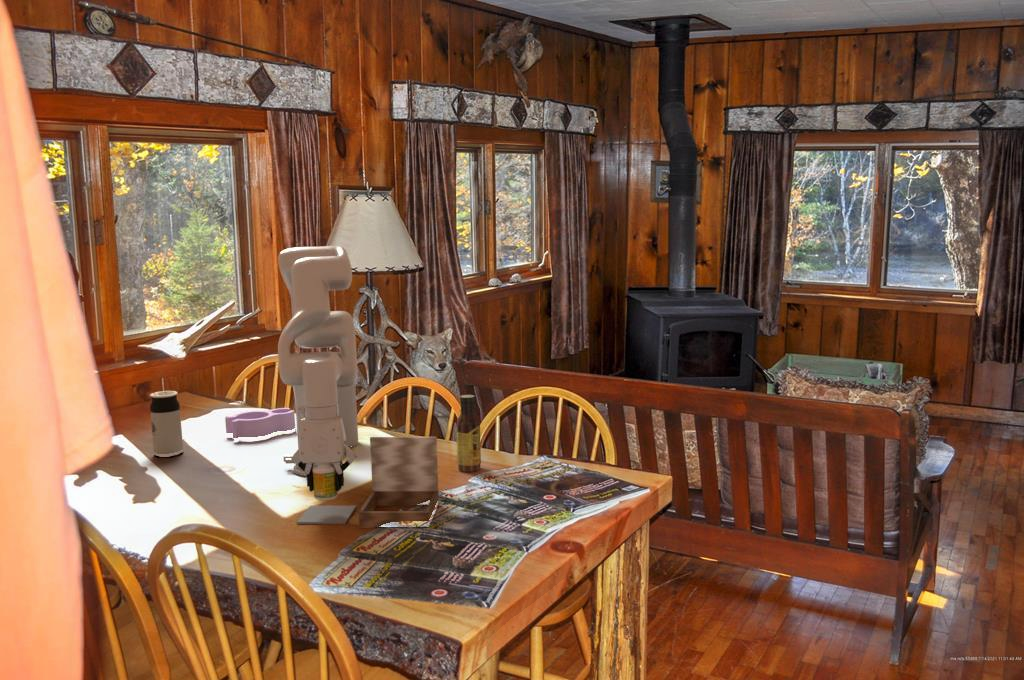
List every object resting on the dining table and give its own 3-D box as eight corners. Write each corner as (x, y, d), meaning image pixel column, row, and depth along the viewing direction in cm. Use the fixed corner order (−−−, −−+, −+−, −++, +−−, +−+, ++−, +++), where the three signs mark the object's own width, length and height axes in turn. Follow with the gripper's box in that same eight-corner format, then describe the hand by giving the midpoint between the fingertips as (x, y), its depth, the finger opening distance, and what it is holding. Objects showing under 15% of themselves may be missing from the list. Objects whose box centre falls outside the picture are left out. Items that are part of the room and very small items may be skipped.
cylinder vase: (365, 445, 276) (361, 362, 272) (325, 453, 269) (320, 367, 265) (347, 437, 286) (343, 356, 282) (308, 444, 279) (303, 361, 275)
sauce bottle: (478, 473, 246) (475, 399, 243) (454, 472, 248) (452, 398, 244) (483, 466, 253) (481, 393, 250) (461, 465, 254) (458, 393, 251)
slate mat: (296, 524, 211) (296, 522, 211) (310, 507, 222) (310, 505, 222) (345, 524, 211) (345, 521, 211) (356, 507, 222) (356, 505, 222)
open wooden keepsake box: (359, 527, 208) (355, 455, 206) (373, 504, 224) (370, 437, 221) (429, 527, 207) (426, 455, 205) (439, 504, 223) (436, 436, 220)
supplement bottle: (326, 502, 212) (324, 460, 211) (309, 498, 215) (306, 457, 213) (343, 495, 216) (340, 454, 215) (325, 492, 219) (323, 451, 218)
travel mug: (183, 449, 277) (178, 389, 274) (183, 456, 269) (178, 394, 266) (154, 452, 274) (149, 391, 271) (153, 459, 267) (148, 397, 264)
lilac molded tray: (285, 426, 302) (284, 405, 300) (300, 434, 291) (299, 412, 290) (223, 437, 290) (222, 415, 289) (236, 445, 280) (235, 423, 279)
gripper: (279, 416, 210) (284, 494, 212) (355, 415, 208) (359, 494, 211) (289, 408, 217) (293, 484, 220) (362, 408, 216) (366, 484, 219)
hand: (325, 488), depth 215 cm, fingers closed on supplement bottle, 5 cm apart
